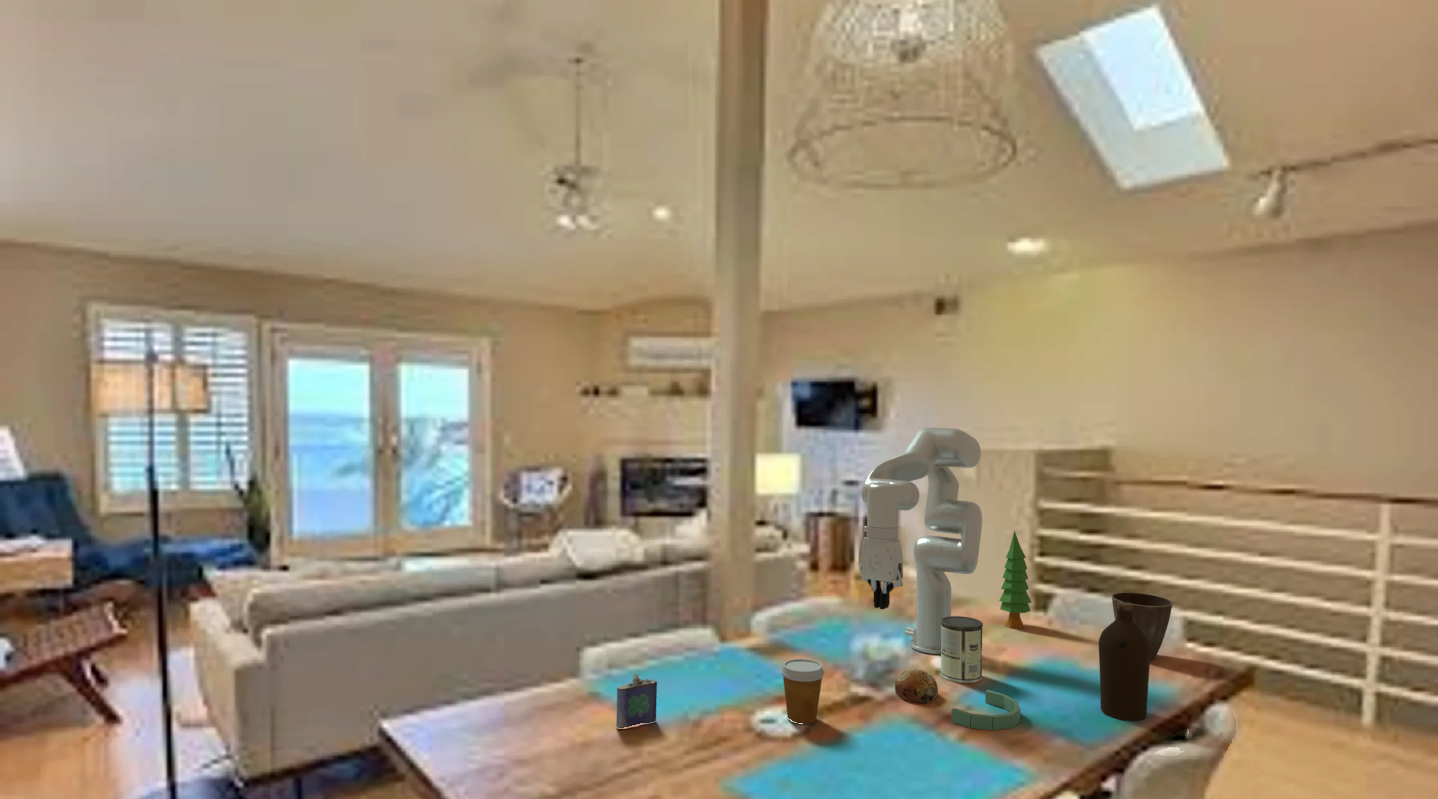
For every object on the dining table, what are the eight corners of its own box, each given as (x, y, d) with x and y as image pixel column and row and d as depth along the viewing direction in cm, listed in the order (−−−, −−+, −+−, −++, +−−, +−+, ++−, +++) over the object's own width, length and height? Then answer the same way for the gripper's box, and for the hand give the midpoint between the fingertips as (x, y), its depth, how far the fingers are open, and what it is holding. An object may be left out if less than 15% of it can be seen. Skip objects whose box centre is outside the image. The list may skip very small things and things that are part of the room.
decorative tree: (1000, 628, 253) (1001, 531, 252) (995, 620, 262) (996, 526, 262) (1033, 630, 251) (1035, 532, 251) (1027, 622, 260) (1028, 527, 260)
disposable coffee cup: (827, 714, 184) (828, 660, 184) (818, 730, 175) (819, 674, 174) (786, 708, 187) (786, 656, 187) (775, 724, 178) (775, 669, 178)
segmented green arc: (951, 721, 180) (951, 709, 180) (987, 701, 192) (987, 689, 192) (997, 736, 173) (998, 723, 173) (1032, 714, 185) (1032, 702, 185)
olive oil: (1159, 722, 181) (1160, 609, 181) (1110, 722, 181) (1112, 609, 181) (1135, 704, 192) (1136, 597, 191) (1089, 703, 192) (1091, 597, 192)
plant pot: (1173, 654, 229) (1174, 597, 229) (1169, 669, 217) (1170, 608, 217) (1114, 645, 238) (1115, 589, 237) (1107, 658, 225) (1108, 600, 225)
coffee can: (951, 666, 217) (952, 613, 217) (989, 676, 210) (989, 621, 210) (932, 676, 209) (933, 621, 209) (970, 686, 202) (971, 629, 202)
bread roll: (935, 707, 198) (933, 672, 202) (942, 703, 189) (940, 667, 192) (893, 705, 199) (892, 670, 203) (898, 701, 190) (897, 665, 193)
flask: (619, 731, 173) (619, 680, 173) (613, 726, 176) (614, 676, 176) (658, 723, 178) (659, 673, 178) (652, 718, 180) (653, 669, 180)
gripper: (847, 531, 205) (846, 604, 205) (901, 539, 195) (900, 616, 195) (865, 527, 211) (864, 599, 211) (917, 535, 200) (916, 611, 200)
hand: (881, 607), depth 203 cm, fingers closed
